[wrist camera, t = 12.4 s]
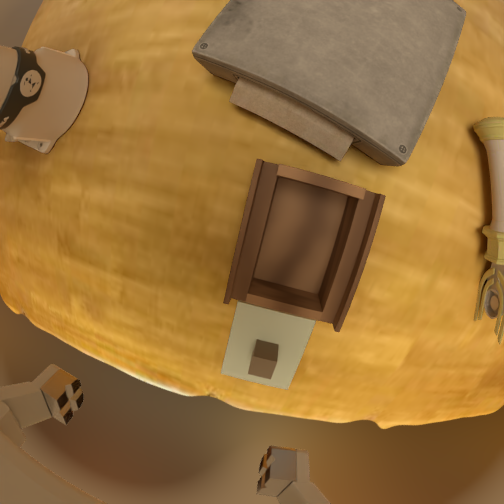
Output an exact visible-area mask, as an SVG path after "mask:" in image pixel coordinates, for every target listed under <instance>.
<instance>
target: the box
mask: <svg viewBox="0 0 504 504" xmlns="http://www.w3.org/2000/svg"><path fill="white" fill-rule="evenodd" d="M384 200H385V195H382V194H376V193H373V192H370V191H367V190H366V189H365V188H362V187H359V186H355V185H352V184H349V183H346V182H343V181H340V180H336V179H333V178H330V177H326V176H323V175H319V174H316V173H312V172H309V171H305V170H301V169H298V168H294V167H290V166H286V165H282V164H279V165H277V164H273V163H269V162H265V161H263V160H261V159H257V160H256V164H255V169H254V173H253V177H252V181H251V185H250V189H249V193H248V198H247V202H246V206H245V210H244V215H243V219H242V223H241V227H240V232H239V236H238V240H237V245H236V249H235V253H234V258H233V262H232V267H231V271H230V276H229V280H228V285H227V289H226V294H225V298H224V303H225V304H229V302H230V300H231V298H233V299H236V300H240V301H244V302H247V303H251V304H255V305H259V306H262V307H266V308H270V309H274V310H278V311H282V312H286V313H290V314H294V315H298V316H302V317H306V318H310V319H314V320H319V321H323V322H327V323H332V324H333V327H334V330H335V331H336V332H339V331H340V329H341V327H342V324H343V322H344V320H345V317H346V315H347V312H348V310H349V307H350V305H351V302H352V299H353V297H354V294H355V292H356V289H357V286H358V283H359V281H360V278H361V275H362V272H363V269H364V266H365V263H366V260H367V257H368V254H369V251H370V248H371V245H372V242H373V239H374V235H375V232H376V229H377V225H378V222H379V218H380V215H381V211H382V208H383V204H384Z"/></svg>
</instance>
